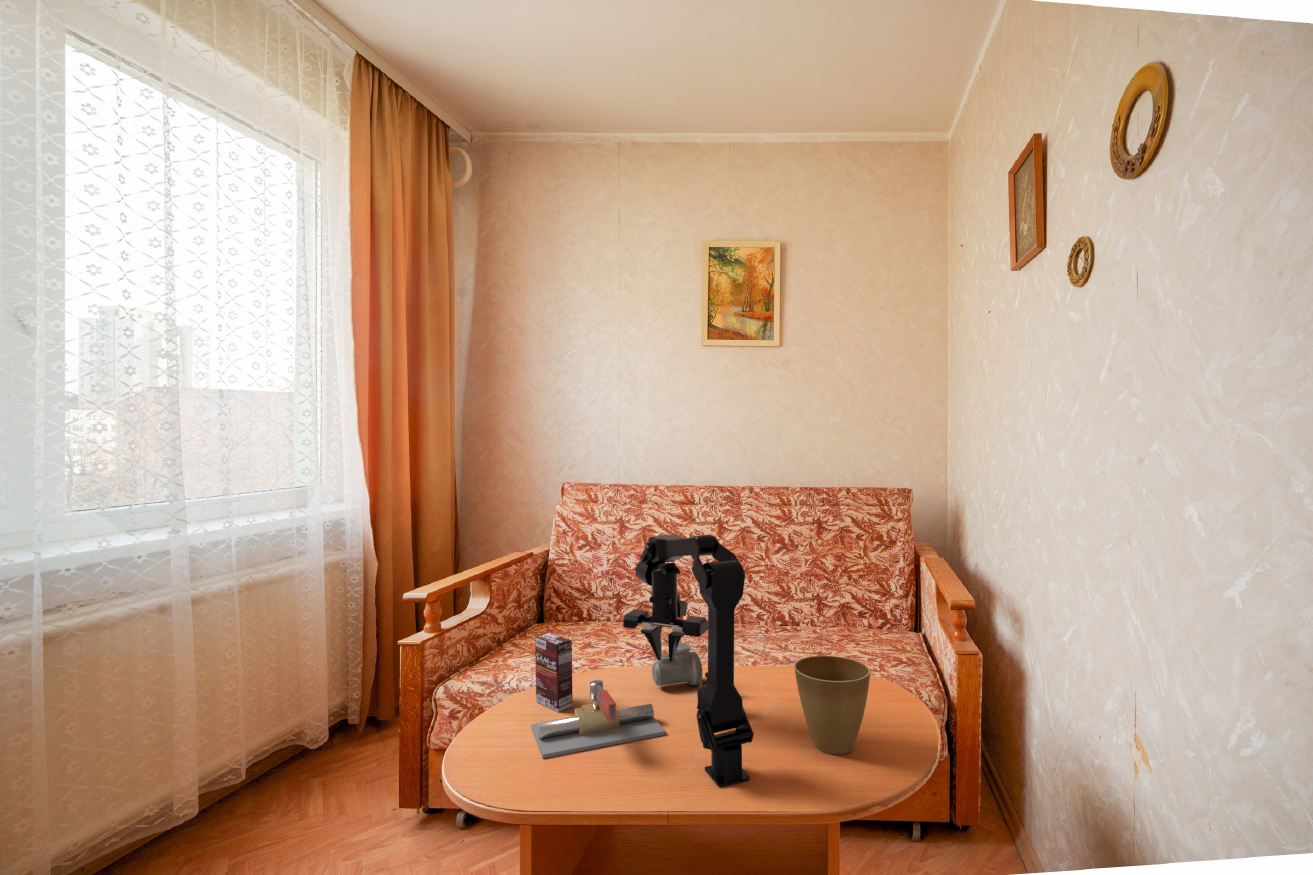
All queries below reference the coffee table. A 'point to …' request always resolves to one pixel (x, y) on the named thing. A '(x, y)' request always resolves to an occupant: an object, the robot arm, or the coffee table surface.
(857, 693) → the plant pot
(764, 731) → the coffee table surface
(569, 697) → the supplement box
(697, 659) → the pipe fitting
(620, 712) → the valve body
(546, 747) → the mounting board
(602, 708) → the valve lever
